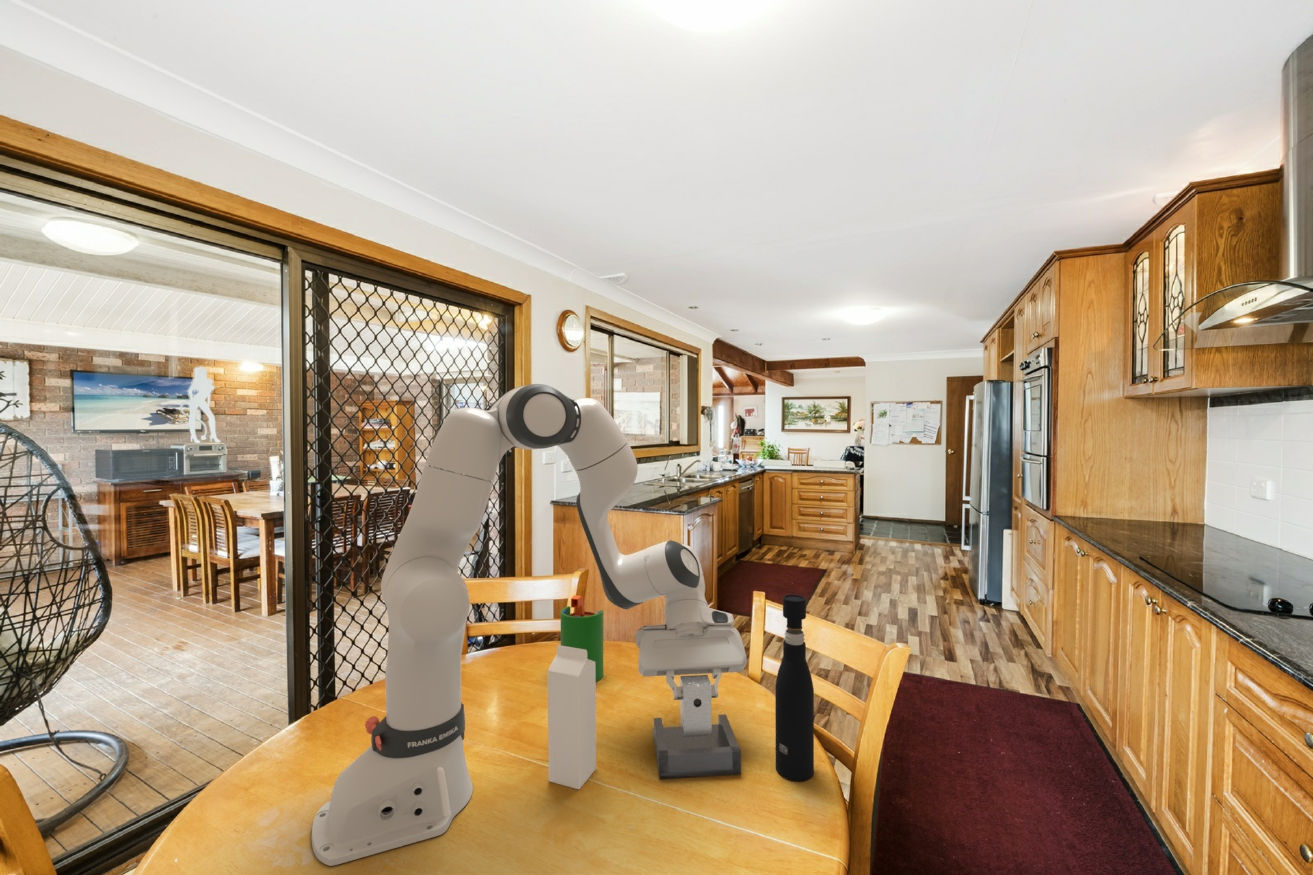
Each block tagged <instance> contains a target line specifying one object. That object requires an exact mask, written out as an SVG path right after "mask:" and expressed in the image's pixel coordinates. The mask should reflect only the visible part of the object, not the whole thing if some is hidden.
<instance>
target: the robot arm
mask: <svg viewBox="0 0 1313 875" xmlns="http://www.w3.org/2000/svg"><path fill="white" fill-rule="evenodd" d="M555 446H557V447H559V448H560V449H561V450H562V451H563V452H564V454H565V455H566V456H567V457H568V459H569V462H570V464H571V466H572V467H573V470H574V471H575V473H576V475H577V477H578V481H579V486H580V487H579V488H580V491H579V492H578V494H577V495H576V496H577V497H576V508H577V513H578V517H579V520H580V522H581V525H582V528H583V530H584V534H585V536H586V540H587V541H588V545H589V547H590V550H591V553H592V555H593V557H594V558H593V559H594V560H595V561H594V562H595V563H596V566H597V568H598V572H599V576H600V581H601V585H602V589H603V593H604V595H605V597H606V599H607V600H608V601H609V602H610V603H612V604H613V605H614V606H617V607H618V608H620V609H623V610H630V609H631V608H634V607H637V606H639V605H641V604H642V603H644V602H647V601H651V600H654V599H656V598H657V599H658V598H660V597H663V596H664V601H665V604H664V610H663V611H664V624H654V625H650V624H646V625H643V626H642V627H640V628H639V629H637V630H636V631H635V645H636V646H637V648H638V649H639V650H638V665H637V666H638V673H639V674H640V675H641V676H642V677H643V678H644V677H665V681H666V683H667V685H668V687H669V688H670V689H671V691H672V694H673V701H681V700H682V697H683V696H682V687H680V686H678V685H677V684H676V682H675V681H674V680H675V676H689V675H708V674H711V676H712V679H713V680H714V682H713V684H711V699H717V698H719V689H718V685H719V682H720V681H721V677H722V674H726V673H741V672H742V671H744V669H745V668H746V665H747V661H748V658H747V653H746V649H745V645H744V643H743V639H742V637H741V634H740V632H739V630H738V629H737V628H735V627H734V624H735V619H734V616H733V614H732V613H730V612H726V611H723V610H722V611H721V610H717V609H714V608H711V607H709V605H708V602H707V600H706V597H705V592H706V582H705V577H704V571H703V568H702V564H701V562H700V558H699V555H698V553H697V551H696V550H695V549H694V548H693V547H691V546H690V545H687V544H683V543H680V542H677V541H675V540H666V541H663V542H660V543H656V544H654V545H650V546H649V547H647V548H643V549H642V550H639V551H638V550H637V551H636V552H634V553H631V554H623V553H621V552H620V551H619V548H618V546H617V542H616V540H615V537H614V534H613V531H612V529H611V526H610V523H609V516H608V515H609V513H610V511H611V510H612V509H613V508H614V507H615V506H616V505H618V504H619V503H620V502H621V501H622V500H623V498H624V497H625V496H626V495H627V494H628V493H629V491H630V490H631V489H632V488H633V485H634V484H635V481H636V479H637V476H638V462H637V458H636V456H635V454H634V451H633V449H632V447H631V446H630V444H629V442H628V440H627V438H626V436H625V434H624V433H623V432H622V430H621V428H620V427H619V425H618V424H617V422H616V421H615V419H614V417H613V416H612V415H611V414H610V411H608V410H607V409H606V408H605V406H604V405H603V404H602V403H601V402H600V401H599V400H597V399H595V398H592V397H582V398H577V399H575V400H573V399H572V398H570V397H569V396H567V395H565V394H564V393H562V391H560V390H558V389H556V388H555V387H553V386H550V385H547V384H543V383H532V384H528V385H521V386H518V387H515V388H513V389H511V390H509V391H507V392H505V393H504V394H502V395H501V396H499V397H498V398H497V399H496V400H494V402H493V403H492V404H491V405H489V407H487V408H486V409H485V410H484V409H481V408H477V407H469V406H468V407H460V408H457V409H454V410H452V411H451V412H449V414H448V415H447V416H446V418H445V419H444V421H443V423H442V424H441V427H440V428H439V430H438V432H437V434H436V435H435V439H434V441H433V443H432V445H431V447H430V450H429V452H428V455H427V458H426V460H425V463H424V466H423V470H422V474H421V476H420V480H419V483H418V485H417V488H416V491H415V494H414V498H413V501H412V504H411V506H410V510H409V513H408V515H407V518H406V520H405V521H404V522H405V523H404V525H403V526H402V528H401V531H400V532H399V535H398V537H397V540H396V542H395V544H394V546H393V549H392V552H391V554H390V557H389V559H388V562H387V564H386V567H385V570H384V572H383V574H382V577H381V582H380V592H381V595H382V598H383V602H384V603H385V604H384V605H385V607H386V612H387V617H388V636H387V655H386V656H387V657H386V666H385V670H384V671H385V716H384V718H382V719H381V720H380V719H379V718H378V716H370V717H368V718H367V719H366V721H365V724H364V726H365V729H366V730H365V731H366V732H367V734H369V735H370V736H371V737H370V738H371V740H370V741H371V745H370V746H369V747H368V748H367V749H365V751H364V752H362V754H360V755H359V756H358V757H357V758H356V759H354V761H352V762H350V763H351V764H349V765H348V766H347V767H346V768H344V769H343V770H342V771H341V772H340V773H339V775H338V776H337V778H336V780H335V782H334V785H333V788H332V791H331V794H330V795H331V796H330V800H329V801H327V802H325V803H323V805H322V806H321V807H320V808H319V809H318V811H317V812H316V814H315V816H314V819H313V821H312V825H311V826H312V827H311V835H310V836H311V846H312V851H313V854H314V855H315V857H316V859H318V861H319V862H321V863H322V864H324V865H327V866H328V867H329V866H330V867H332V866H333V867H334V866H337V865H340V864H344V863H348V862H352V861H355V860H357V859H361V858H365V857H368V856H369V857H370V856H372V855H375V854H380V853H384V852H387V851H389V850H390V851H391V850H394V849H396V848H400V847H403V846H406V845H407V846H408V845H411V844H414V843H417V842H421V841H424V840H428V839H432V838H435V837H438V836H441V835H443V834H444V833H446V831H447V830H448V829H449V827H450V825H451V823H452V821H453V819H454V818H455V817H456V816H457V814H459V813H460V811H462V810H463V809H464V807H466V805H467V804H468V803H469V801H470V799H471V797H472V795H473V792H474V791H473V789H474V785H473V782H472V780H471V779H472V778H471V776H470V774H469V773H470V772H469V770H468V766H467V761H466V754H465V748H464V739H465V732H466V713H465V712H466V711H465V705H464V704H463V703H462V655H463V653H462V652H463V647H464V646H463V645H464V640H465V633H466V628H467V627H466V624H467V620H468V619H467V618H468V616H469V614H470V613H469V612H470V606H471V605H470V604H471V603H470V595H469V590H468V586H467V584H466V582H465V580H464V578H463V577H462V576H461V575H460V573H459V567H460V564H461V561H462V560H463V557H464V556H465V553H466V551H467V549H468V547H469V545H470V544H471V541H472V540H473V538H474V536H475V535H476V534H477V533H478V531H479V529H480V528H481V526H482V522H483V518H484V515H485V511H486V508H487V506H488V502H489V499H490V495H491V492H492V488H493V487H494V486H493V485H494V481H495V478H496V475H497V472H498V471H497V470H498V467H499V464H500V463H501V461H502V458H503V456H504V455H505V454H506V453H507V451H509V450H510V449H511V448H513V449H521V450H527V451H528V450H529V451H530V450H537V449H540V450H541V449H548V448H553V447H555Z"/></svg>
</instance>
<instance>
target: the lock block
mask: <svg viewBox="0 0 1313 875" xmlns="http://www.w3.org/2000/svg"><path fill="white" fill-rule="evenodd" d="M679 677H680V678H679V679H680V680H679V683H680V686H679V687H682V696H683V697H682V700H680V726H681V728H682V732H683V737H696V736H712V725H713V724H712V723H713V722H712V719H713V718H712V717H713V716H712V714H713V713H712V712H713V711H712V710H713V709H712V698H711V685H712V682H711V680H710V677H709V676H708V674H691V675H679Z"/></svg>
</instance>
